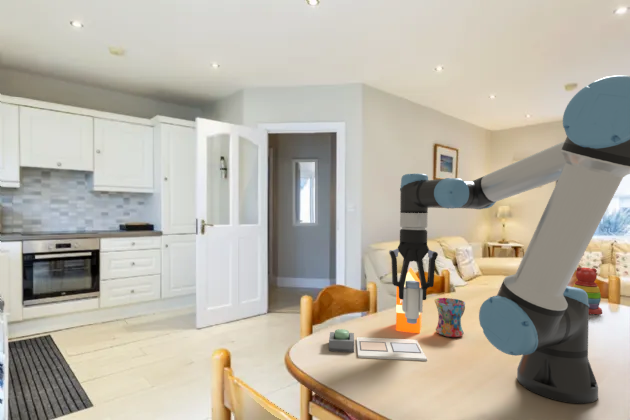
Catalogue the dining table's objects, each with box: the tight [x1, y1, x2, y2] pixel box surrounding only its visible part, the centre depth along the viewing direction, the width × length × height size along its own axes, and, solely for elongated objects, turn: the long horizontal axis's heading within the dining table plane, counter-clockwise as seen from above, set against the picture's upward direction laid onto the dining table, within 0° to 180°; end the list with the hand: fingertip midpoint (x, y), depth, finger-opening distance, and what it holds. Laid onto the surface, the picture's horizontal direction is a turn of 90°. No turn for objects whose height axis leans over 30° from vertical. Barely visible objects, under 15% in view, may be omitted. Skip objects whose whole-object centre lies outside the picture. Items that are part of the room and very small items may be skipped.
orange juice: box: [395, 266, 422, 334], centre depth 121 cm, size 8×9×20 cm
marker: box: [405, 280, 420, 324], centre depth 102 cm, size 4×4×12 cm
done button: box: [334, 328, 350, 340], centre depth 103 cm, size 4×4×2 cm
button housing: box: [328, 331, 355, 353], centre depth 103 cm, size 7×7×3 cm
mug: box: [434, 297, 466, 338], centre depth 116 cm, size 12×9×11 cm
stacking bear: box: [572, 266, 603, 315], centre depth 144 cm, size 11×10×18 cm
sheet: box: [356, 336, 428, 362], centre depth 102 cm, size 14×18×1 cm
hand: (412, 310), depth 102 cm, fingers closed on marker, 4 cm apart
